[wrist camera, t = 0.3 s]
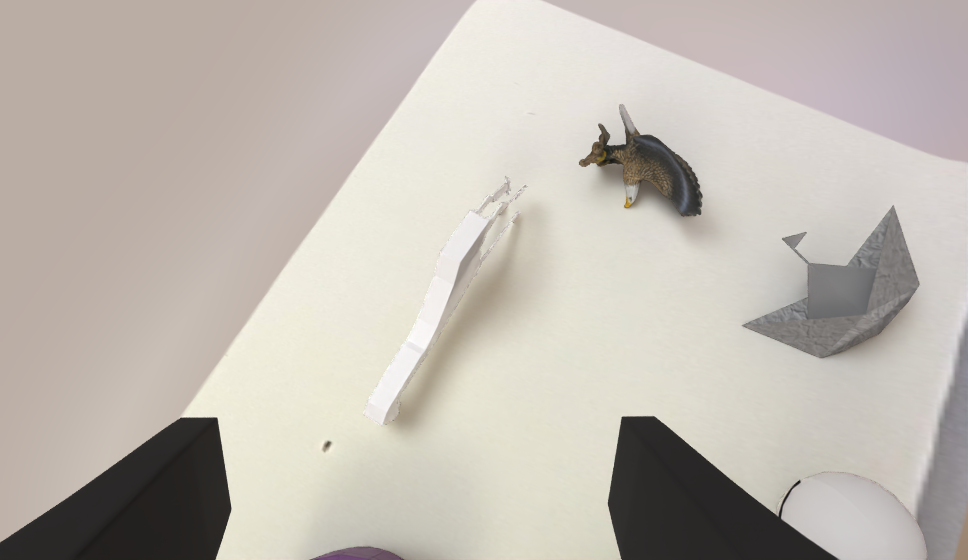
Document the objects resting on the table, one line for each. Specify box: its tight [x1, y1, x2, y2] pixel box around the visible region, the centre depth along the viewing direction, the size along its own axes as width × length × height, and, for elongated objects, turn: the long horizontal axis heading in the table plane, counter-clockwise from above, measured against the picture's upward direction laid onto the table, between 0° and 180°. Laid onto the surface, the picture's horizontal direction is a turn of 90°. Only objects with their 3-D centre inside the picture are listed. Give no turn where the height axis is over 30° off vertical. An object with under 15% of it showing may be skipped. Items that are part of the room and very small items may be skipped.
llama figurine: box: [363, 176, 527, 426], centre depth 39 cm, size 2×11×18 cm
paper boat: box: [742, 205, 920, 358], centre depth 39 cm, size 12×6×9 cm
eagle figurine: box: [579, 104, 702, 216], centre depth 42 cm, size 8×7×9 cm
